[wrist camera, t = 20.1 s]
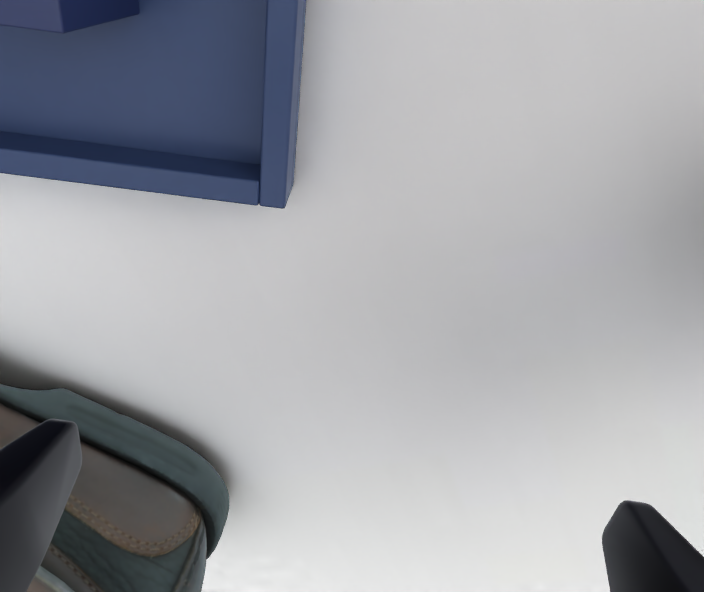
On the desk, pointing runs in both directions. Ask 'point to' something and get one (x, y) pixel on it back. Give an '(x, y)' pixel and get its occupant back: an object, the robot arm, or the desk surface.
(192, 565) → the loafer
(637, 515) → the robot arm
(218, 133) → the blue tray
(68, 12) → the blue block
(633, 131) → the desk surface
